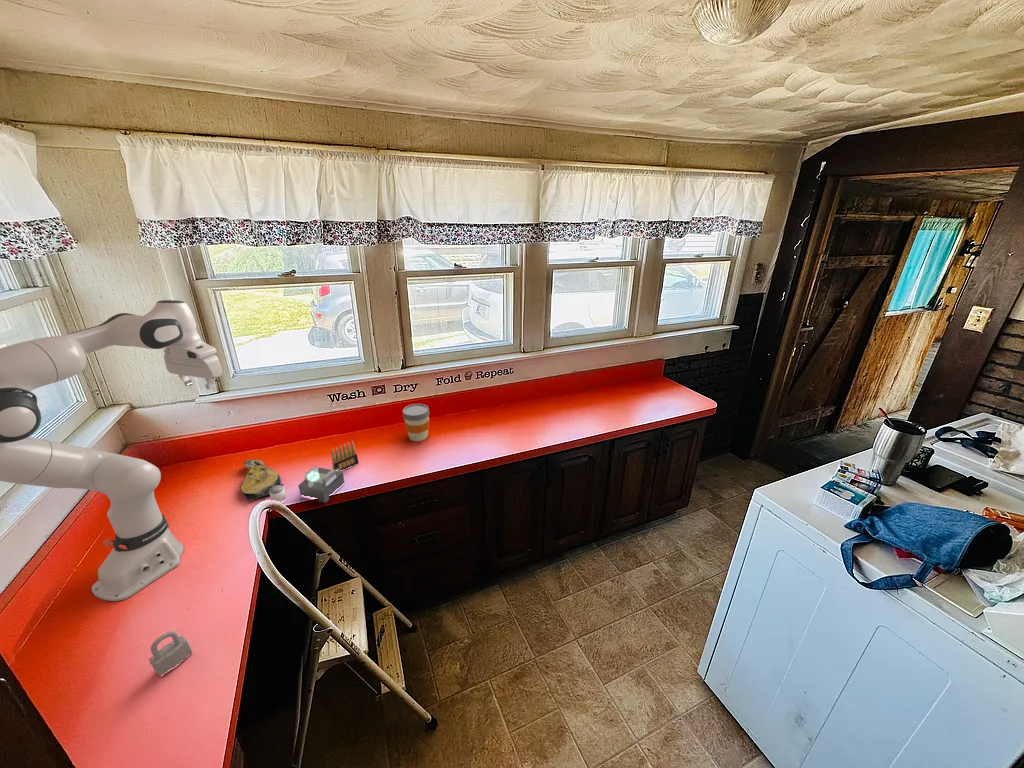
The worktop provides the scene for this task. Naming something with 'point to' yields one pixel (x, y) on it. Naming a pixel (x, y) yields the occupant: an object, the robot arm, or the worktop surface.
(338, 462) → the ammunition clip
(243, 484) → the pulley block
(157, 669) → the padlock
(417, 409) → the reusable coffee cup
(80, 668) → the worktop surface
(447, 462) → the worktop surface
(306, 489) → the motor
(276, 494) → the white domed cylinder
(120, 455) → the robot arm
